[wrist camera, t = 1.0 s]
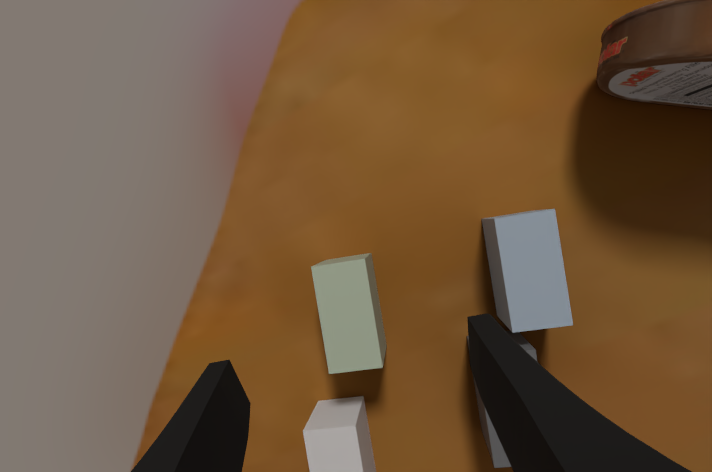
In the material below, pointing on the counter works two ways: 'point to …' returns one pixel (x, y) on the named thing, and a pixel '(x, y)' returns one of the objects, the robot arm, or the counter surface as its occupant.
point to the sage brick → (350, 313)
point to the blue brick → (527, 270)
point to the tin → (660, 54)
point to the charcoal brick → (486, 424)
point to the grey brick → (339, 437)
